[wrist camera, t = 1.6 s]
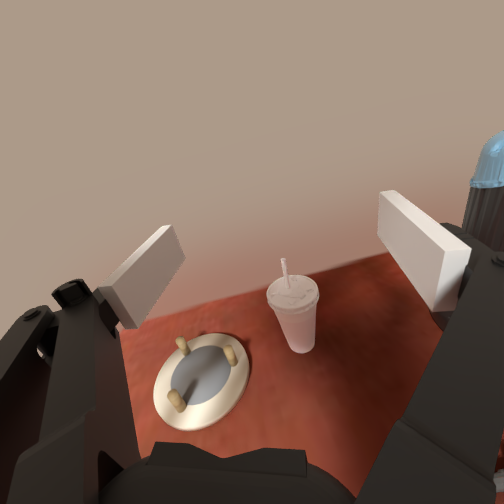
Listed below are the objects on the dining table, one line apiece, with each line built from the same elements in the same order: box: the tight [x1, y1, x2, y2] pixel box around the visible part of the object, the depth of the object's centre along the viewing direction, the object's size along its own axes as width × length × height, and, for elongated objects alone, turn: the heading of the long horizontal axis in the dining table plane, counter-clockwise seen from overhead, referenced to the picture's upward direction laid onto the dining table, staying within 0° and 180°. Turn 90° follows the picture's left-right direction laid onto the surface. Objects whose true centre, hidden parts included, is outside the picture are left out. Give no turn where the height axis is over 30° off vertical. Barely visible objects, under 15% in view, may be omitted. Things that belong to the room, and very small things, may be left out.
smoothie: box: [267, 258, 319, 353], centre depth 31 cm, size 6×6×14 cm
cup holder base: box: [154, 333, 250, 431], centre depth 32 cm, size 13×13×4 cm
